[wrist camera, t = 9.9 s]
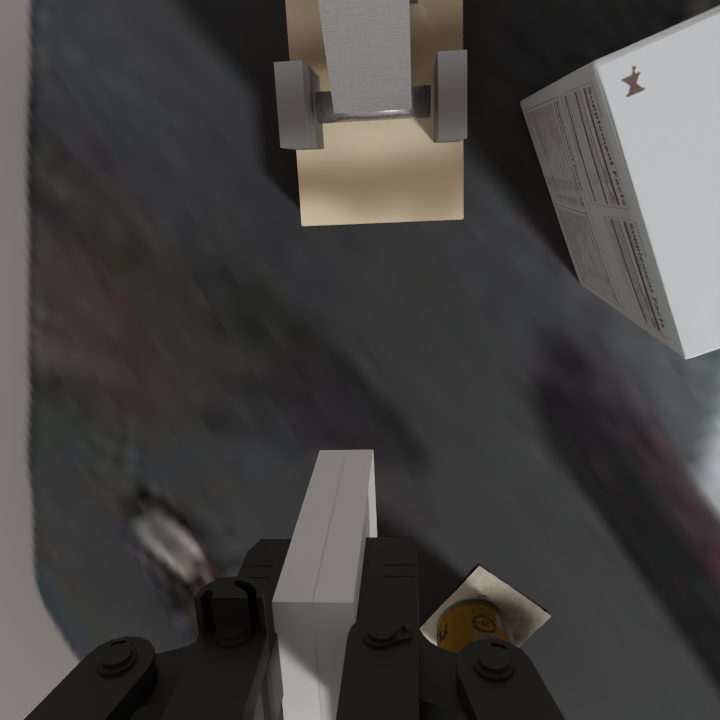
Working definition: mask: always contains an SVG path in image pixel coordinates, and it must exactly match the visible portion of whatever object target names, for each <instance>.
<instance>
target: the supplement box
mask: <svg viewBox="0 0 720 720" xmlns="http://www.w3.org/2000/svg"><path fill="white" fill-rule="evenodd" d="M520 105H521V108H522V111H523V114H524V117H525V120H526V123H527V126H528V129H529V132H530V135H531V138H532V141H533V144H534V147H535V150H536V153H537V156H538V159H539V162H540V166H541V169H542V172H543V175H544V178H545V181H546V184H547V187H548V190H549V193H550V196H551V199H552V202H553V205H554V208H555V211H556V214H557V217H558V220H559V223H560V226H561V229H562V232H563V235H564V238H565V241H566V244H567V247H568V250H569V253H570V256H571V259H572V262H573V265H574V268H575V271H576V274H577V276H578V279H579V282H580V283H581V285H582V286H584V287H585V288H587V289H588V290H590V291H591V292H593V293H594V294H595V295H597V296H598V297H599V298H601V299H602V300H604V301H605V302H606V303H608V304H609V305H611V306H612V307H613V308H615V309H616V310H618V311H619V312H620V313H622V314H623V315H625V316H626V317H627V318H629V319H630V320H632V321H633V322H634V323H636V324H637V325H639V326H640V327H641V328H643V329H644V330H646V331H647V332H648V333H650V334H651V335H653V336H654V337H655V338H657V339H658V340H660V341H661V342H662V343H664V344H665V345H667V346H668V347H669V348H671V349H672V350H674V351H675V352H676V353H678V354H679V355H681V356H682V357H683V358H684V359H689V358H692V357H695V356H698V355H701V354H704V353H707V352H710V351H713V350H716V349H719V348H720V5H718V6H716V7H714V8H712V9H709V10H707V11H705V12H703V13H700V14H698V15H696V16H694V17H692V18H689V19H687V20H685V21H683V22H681V23H678V24H676V25H674V26H672V27H669V28H667V29H665V30H663V31H661V32H658V33H656V34H654V35H652V36H649V37H647V38H645V39H643V40H640V41H638V42H636V43H634V44H631V45H629V46H627V47H625V48H622V49H620V50H618V51H615V52H613V53H611V54H608V55H606V56H603V57H601V58H599V59H597V60H595V61H593V62H591V63H589V64H587V65H585V66H583V67H581V68H579V69H577V70H576V71H574V72H572V73H570V74H568V75H566V76H565V77H563V78H561V79H559V80H558V81H556V82H554V83H552V84H550V85H549V86H547V87H545V88H543V89H541V90H539V91H538V92H536V93H534V94H532V95H530V96H529V97H527V98H525V99H523V100H522V101H521V102H520Z"/></svg>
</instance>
